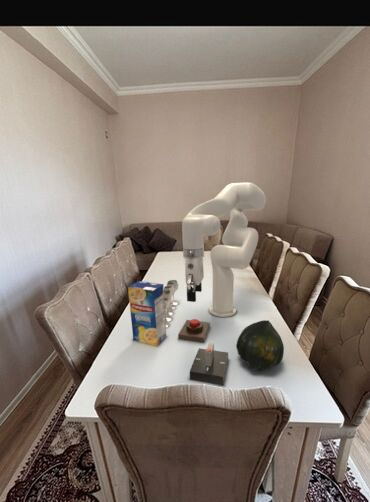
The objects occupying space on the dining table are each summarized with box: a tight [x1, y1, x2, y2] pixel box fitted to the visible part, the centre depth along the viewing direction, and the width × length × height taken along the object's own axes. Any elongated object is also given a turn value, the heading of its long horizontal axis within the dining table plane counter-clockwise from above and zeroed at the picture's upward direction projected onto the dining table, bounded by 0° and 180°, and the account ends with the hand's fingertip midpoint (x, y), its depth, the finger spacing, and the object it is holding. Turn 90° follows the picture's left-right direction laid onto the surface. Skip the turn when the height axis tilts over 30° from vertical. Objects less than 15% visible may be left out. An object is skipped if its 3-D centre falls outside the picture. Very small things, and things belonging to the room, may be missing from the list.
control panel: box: [189, 347, 229, 386], centre depth 79 cm, size 12×10×3 cm
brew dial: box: [206, 342, 215, 366], centre depth 78 cm, size 5×2×5 cm, turn 164°
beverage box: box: [127, 280, 167, 347], centre depth 94 cm, size 7×11×22 cm, turn 65°
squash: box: [235, 319, 285, 372], centre depth 80 cm, size 14×15×15 cm
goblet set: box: [163, 279, 179, 329], centre depth 115 cm, size 28×6×13 cm, turn 172°
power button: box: [189, 318, 200, 327], centre depth 99 cm, size 4×4×2 cm
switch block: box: [177, 319, 211, 344], centre depth 100 cm, size 12×10×4 cm
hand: (194, 296), depth 95 cm, fingers open, 9 cm apart
